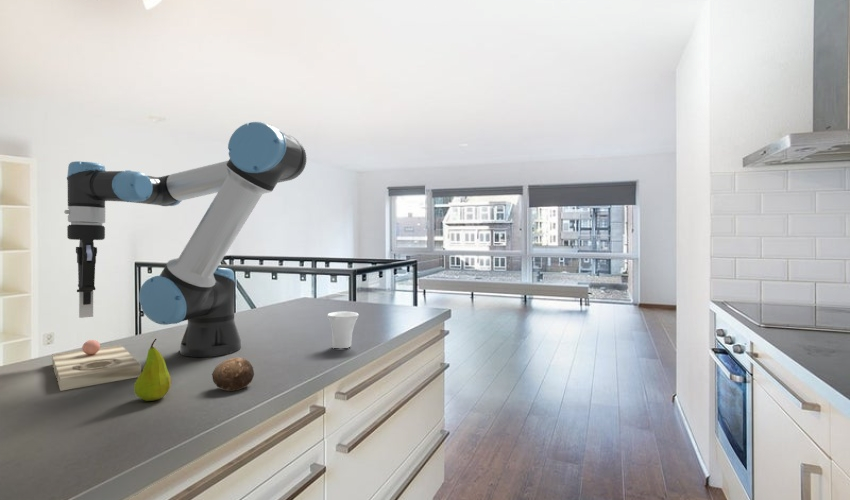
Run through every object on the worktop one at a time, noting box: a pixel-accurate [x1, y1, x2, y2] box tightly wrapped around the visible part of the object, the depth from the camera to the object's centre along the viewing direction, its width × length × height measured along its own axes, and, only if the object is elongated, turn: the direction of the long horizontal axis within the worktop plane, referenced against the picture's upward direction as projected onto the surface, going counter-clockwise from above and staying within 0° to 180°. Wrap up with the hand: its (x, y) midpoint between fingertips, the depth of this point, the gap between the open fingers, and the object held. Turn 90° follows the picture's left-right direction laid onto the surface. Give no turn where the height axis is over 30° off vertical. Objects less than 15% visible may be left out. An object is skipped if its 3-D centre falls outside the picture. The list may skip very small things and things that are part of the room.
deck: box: [51, 344, 142, 392], centre depth 102 cm, size 24×14×2 cm, turn 44°
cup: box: [326, 311, 360, 349], centre depth 126 cm, size 9×9×10 cm
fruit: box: [133, 338, 172, 402], centre depth 85 cm, size 6×6×12 cm
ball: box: [81, 339, 101, 355], centre depth 106 cm, size 4×4×4 cm
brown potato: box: [211, 357, 255, 392], centre depth 93 cm, size 8×8×6 cm
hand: (86, 316), depth 111 cm, fingers closed
